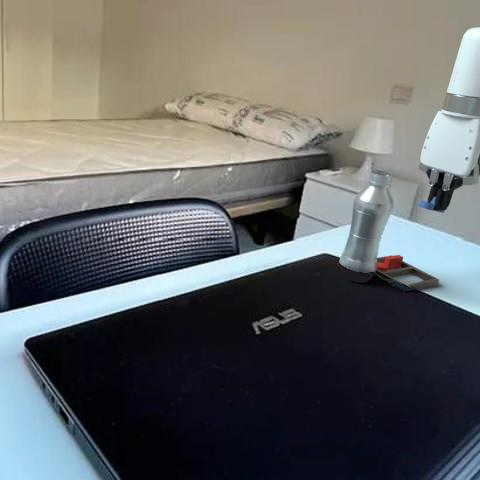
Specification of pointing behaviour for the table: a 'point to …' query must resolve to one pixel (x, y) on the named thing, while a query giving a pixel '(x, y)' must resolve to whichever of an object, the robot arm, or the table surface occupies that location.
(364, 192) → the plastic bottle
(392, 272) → the cutlery tray
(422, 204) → the blue stepped block
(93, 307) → the table surface
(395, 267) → the red stepped block
